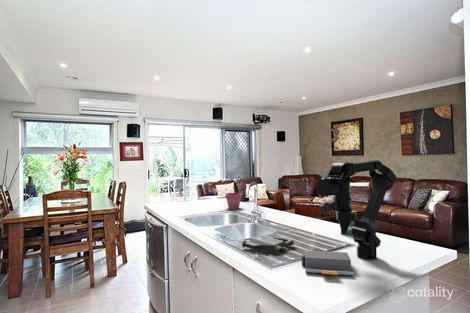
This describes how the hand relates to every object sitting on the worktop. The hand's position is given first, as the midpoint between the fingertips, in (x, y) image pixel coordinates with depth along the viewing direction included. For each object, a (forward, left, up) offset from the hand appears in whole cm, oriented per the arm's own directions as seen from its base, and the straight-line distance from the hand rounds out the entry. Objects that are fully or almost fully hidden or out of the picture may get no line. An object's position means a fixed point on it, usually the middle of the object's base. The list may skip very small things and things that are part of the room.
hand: (343, 234), depth 104 cm
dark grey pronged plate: (+30, -14, -12) cm, 36 cm away
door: (+7, +9, -11) cm, 16 cm away
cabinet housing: (+7, +4, -12) cm, 14 cm away
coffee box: (-9, -44, -12) cm, 47 cm away
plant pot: (+73, -115, -12) cm, 137 cm away
